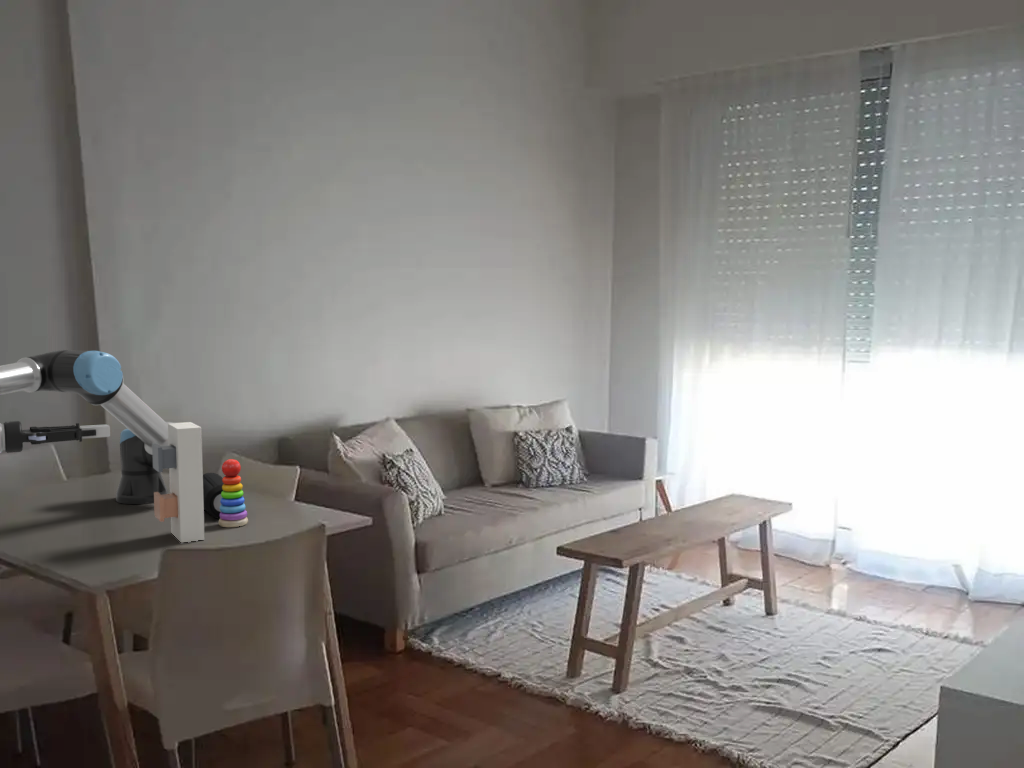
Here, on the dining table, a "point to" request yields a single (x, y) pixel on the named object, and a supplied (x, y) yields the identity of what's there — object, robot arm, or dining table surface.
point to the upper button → (163, 457)
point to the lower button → (165, 506)
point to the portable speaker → (212, 493)
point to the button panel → (187, 481)
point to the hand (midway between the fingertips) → (108, 430)
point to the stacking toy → (232, 496)
